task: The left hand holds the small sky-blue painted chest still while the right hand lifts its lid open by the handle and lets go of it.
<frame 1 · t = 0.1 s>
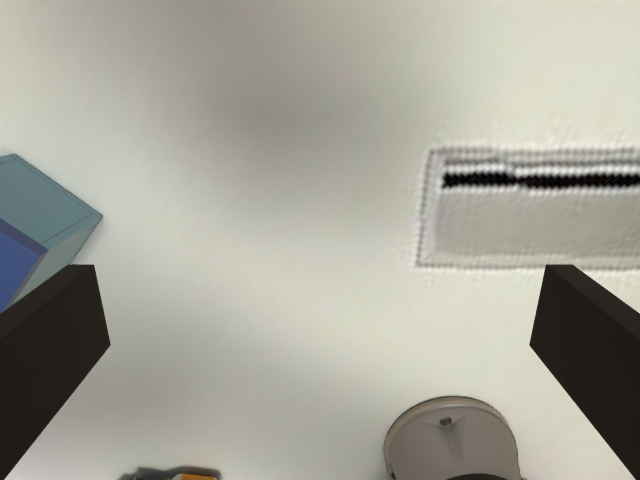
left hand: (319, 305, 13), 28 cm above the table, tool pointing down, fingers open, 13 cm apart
chest: (26, 238, 42), on the table
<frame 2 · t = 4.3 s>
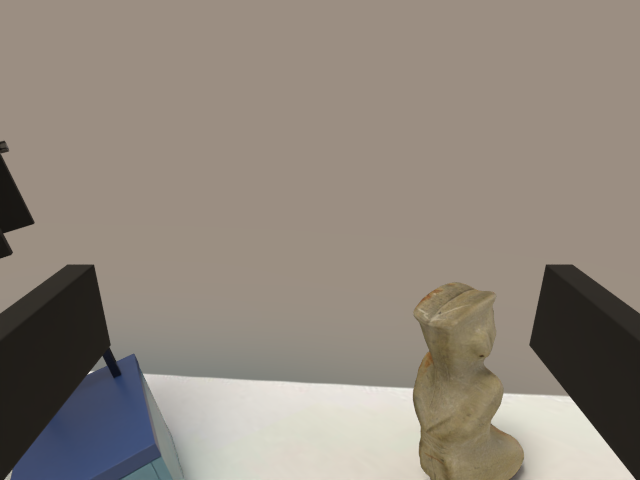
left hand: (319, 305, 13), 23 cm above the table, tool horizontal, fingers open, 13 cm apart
sculpture: (474, 479, 31), on the table
lid: (64, 385, 32), point 13 cm above the table, hinge at 0.0°
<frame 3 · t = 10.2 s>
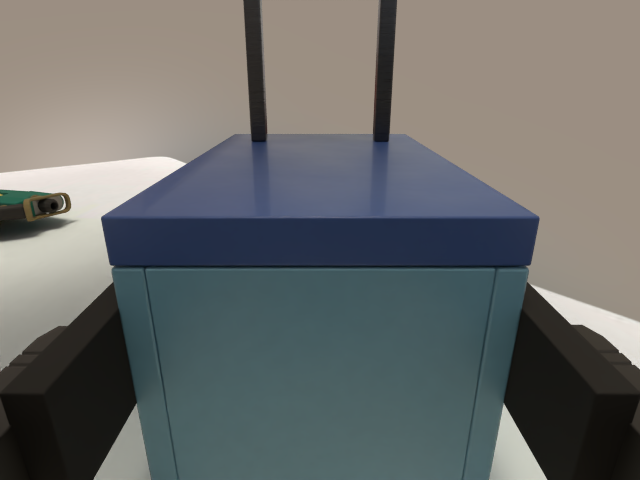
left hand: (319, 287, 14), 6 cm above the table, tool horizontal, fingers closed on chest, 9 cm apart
chest: (320, 381, 19), on the table, touching left hand
lid: (320, 62, 15), point 13 cm above the table, hinge at 0.0°
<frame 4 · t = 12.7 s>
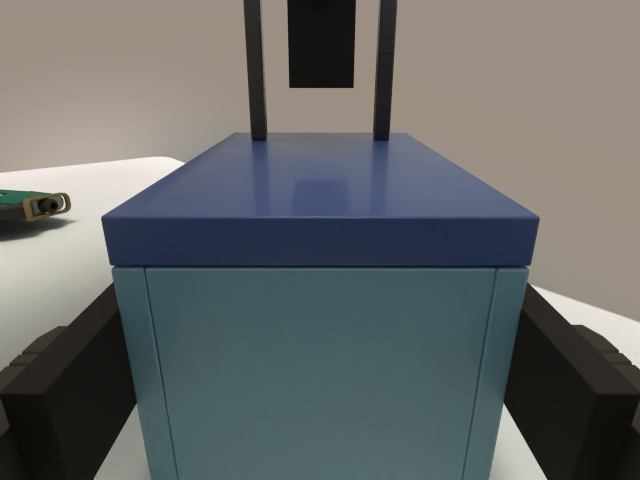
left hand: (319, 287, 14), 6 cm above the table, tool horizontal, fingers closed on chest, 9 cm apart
chest: (320, 381, 19), on the table, touching left hand
lid: (320, 60, 15), point 13 cm above the table, hinge at 0.3°, touching right hand
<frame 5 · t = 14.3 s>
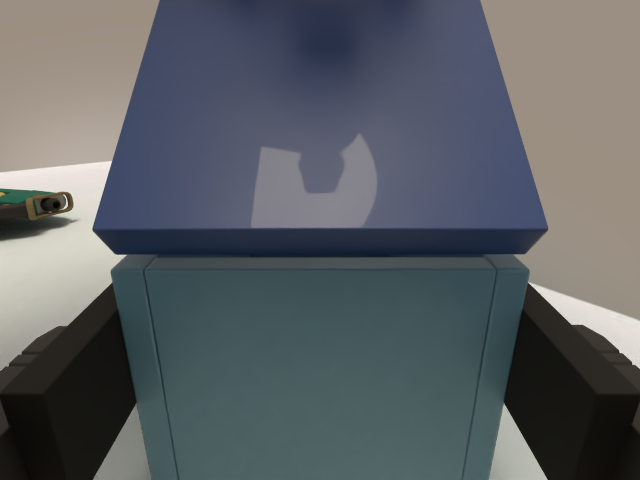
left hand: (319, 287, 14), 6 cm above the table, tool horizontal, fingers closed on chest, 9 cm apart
chest: (319, 379, 19), on the table, touching left hand
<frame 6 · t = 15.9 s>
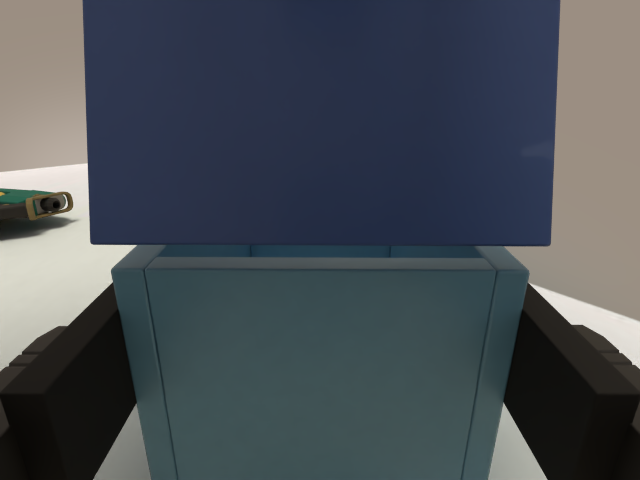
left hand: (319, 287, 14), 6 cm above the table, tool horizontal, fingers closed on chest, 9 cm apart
chest: (319, 379, 19), on the table, touching left hand
when the left hand's fingers open (6 cm above the table, at t = 19.9 s): chest stays where it is, on the table.
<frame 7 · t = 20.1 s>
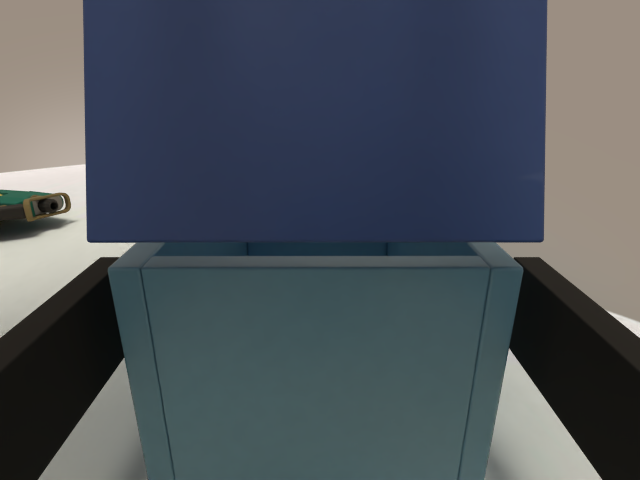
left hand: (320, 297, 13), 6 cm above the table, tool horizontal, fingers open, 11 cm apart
chest: (317, 380, 19), on the table
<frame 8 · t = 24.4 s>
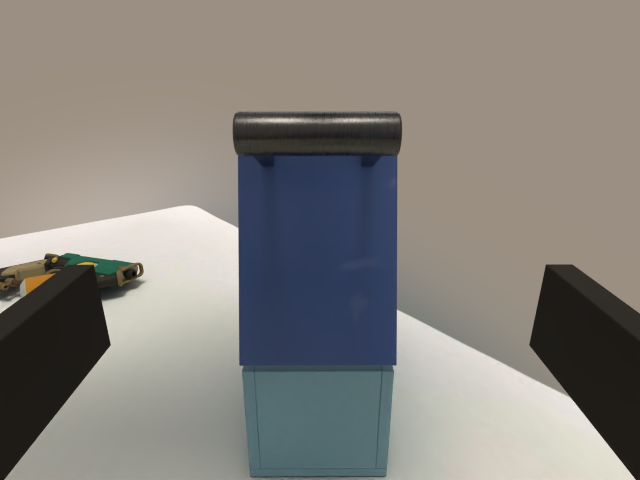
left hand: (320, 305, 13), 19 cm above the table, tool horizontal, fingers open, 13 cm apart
chest: (318, 403, 35), on the table
spray gun: (65, 288, 55), on the table
lid: (317, 241, 21), point 18 cm above the table, hinge at 71.0°
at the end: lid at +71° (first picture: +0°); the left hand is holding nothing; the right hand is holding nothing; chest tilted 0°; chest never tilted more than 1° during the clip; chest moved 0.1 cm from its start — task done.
